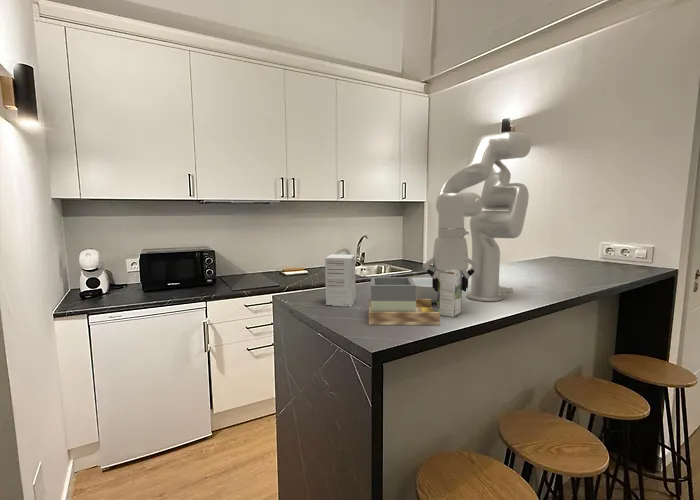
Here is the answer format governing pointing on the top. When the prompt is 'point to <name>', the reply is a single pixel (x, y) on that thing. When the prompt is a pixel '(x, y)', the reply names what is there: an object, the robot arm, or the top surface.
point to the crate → (393, 294)
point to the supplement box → (340, 279)
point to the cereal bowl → (425, 289)
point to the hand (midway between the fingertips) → (449, 290)
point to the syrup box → (449, 292)
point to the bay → (407, 315)
